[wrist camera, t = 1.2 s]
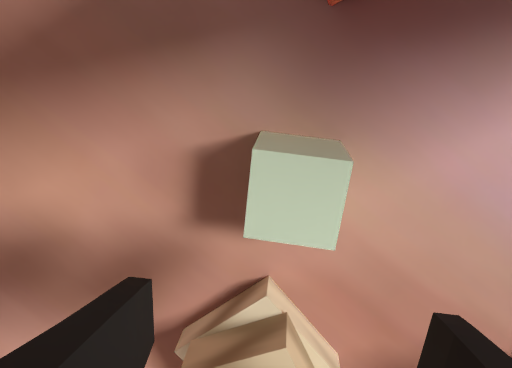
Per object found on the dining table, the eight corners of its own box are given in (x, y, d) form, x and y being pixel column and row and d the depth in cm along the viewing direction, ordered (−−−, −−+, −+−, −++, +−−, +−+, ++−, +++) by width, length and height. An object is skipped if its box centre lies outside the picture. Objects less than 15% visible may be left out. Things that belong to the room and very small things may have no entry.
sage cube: (340, 140, 17) (353, 161, 13) (326, 212, 19) (334, 250, 15) (261, 130, 17) (252, 148, 14) (253, 202, 19) (243, 237, 15)
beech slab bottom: (269, 269, 21) (266, 295, 18) (336, 346, 22) (342, 380, 20) (186, 322, 23) (173, 351, 20) (252, 389, 24) (248, 425, 22)
